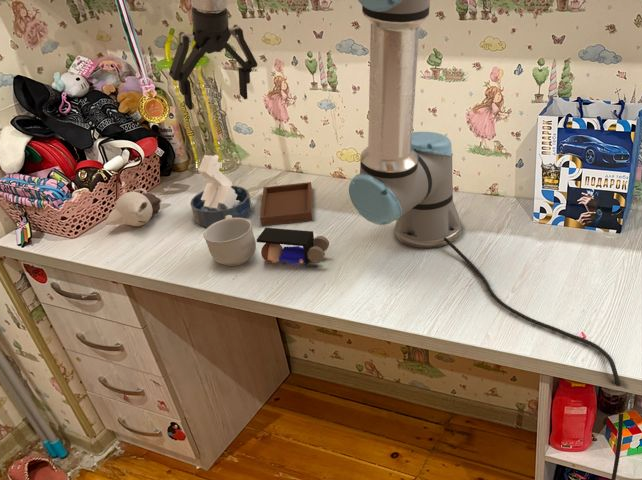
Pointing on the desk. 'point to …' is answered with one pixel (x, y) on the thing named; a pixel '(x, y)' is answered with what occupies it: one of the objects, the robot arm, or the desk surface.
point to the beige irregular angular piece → (216, 186)
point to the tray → (286, 204)
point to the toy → (134, 208)
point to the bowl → (210, 217)
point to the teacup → (231, 240)
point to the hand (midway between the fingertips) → (216, 101)
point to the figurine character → (295, 254)
